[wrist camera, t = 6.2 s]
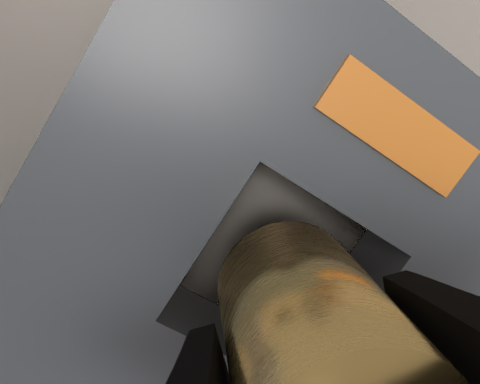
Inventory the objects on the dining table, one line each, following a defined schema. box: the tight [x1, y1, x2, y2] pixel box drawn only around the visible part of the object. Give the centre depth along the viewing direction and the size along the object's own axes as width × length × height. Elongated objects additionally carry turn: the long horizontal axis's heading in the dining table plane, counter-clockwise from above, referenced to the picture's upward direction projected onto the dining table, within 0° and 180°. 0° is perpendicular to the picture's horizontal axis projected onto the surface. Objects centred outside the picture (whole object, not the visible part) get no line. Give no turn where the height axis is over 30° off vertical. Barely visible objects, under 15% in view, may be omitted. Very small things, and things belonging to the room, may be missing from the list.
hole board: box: [0, 0, 480, 384], centre depth 14 cm, size 16×16×3 cm
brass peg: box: [218, 221, 469, 384], centre depth 10 cm, size 4×4×6 cm
